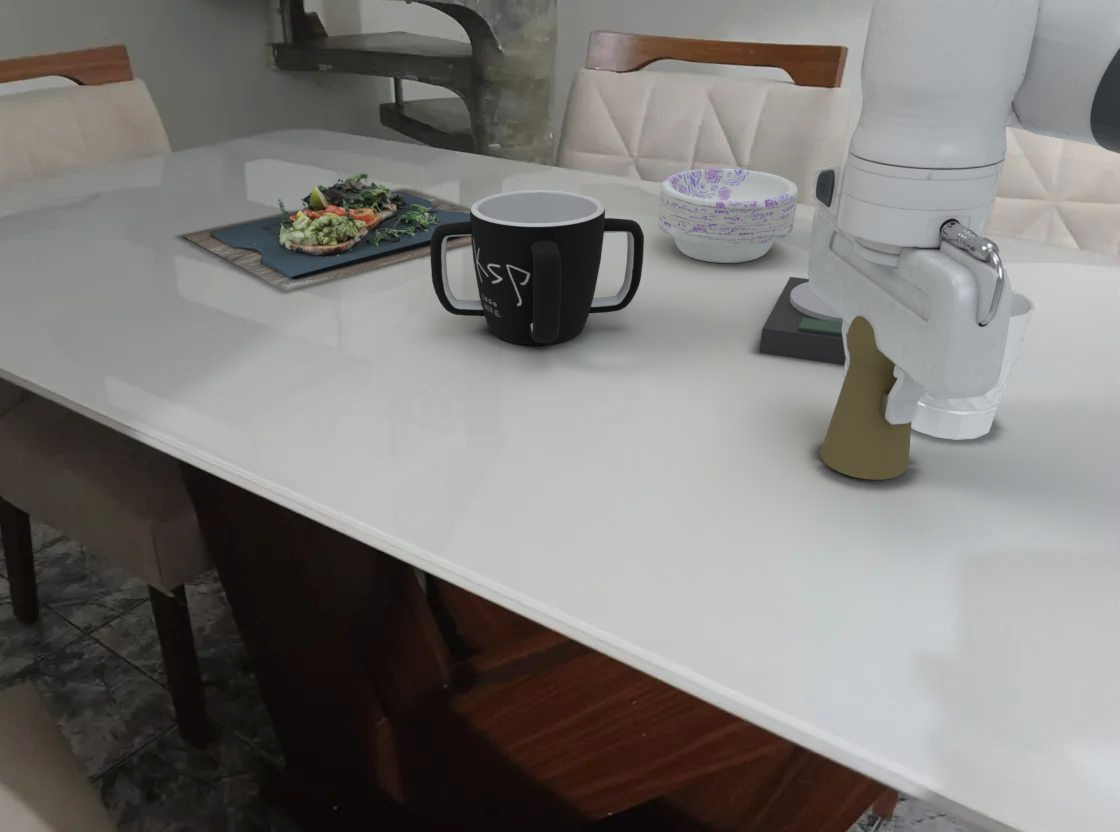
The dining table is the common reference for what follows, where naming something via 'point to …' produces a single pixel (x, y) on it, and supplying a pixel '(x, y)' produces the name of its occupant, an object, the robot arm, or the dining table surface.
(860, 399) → the olive pawn figure
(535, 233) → the mug
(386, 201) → the plated dish
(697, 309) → the dining table surface
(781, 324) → the kitchen scale
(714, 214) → the paper bowls
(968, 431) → the white cup
